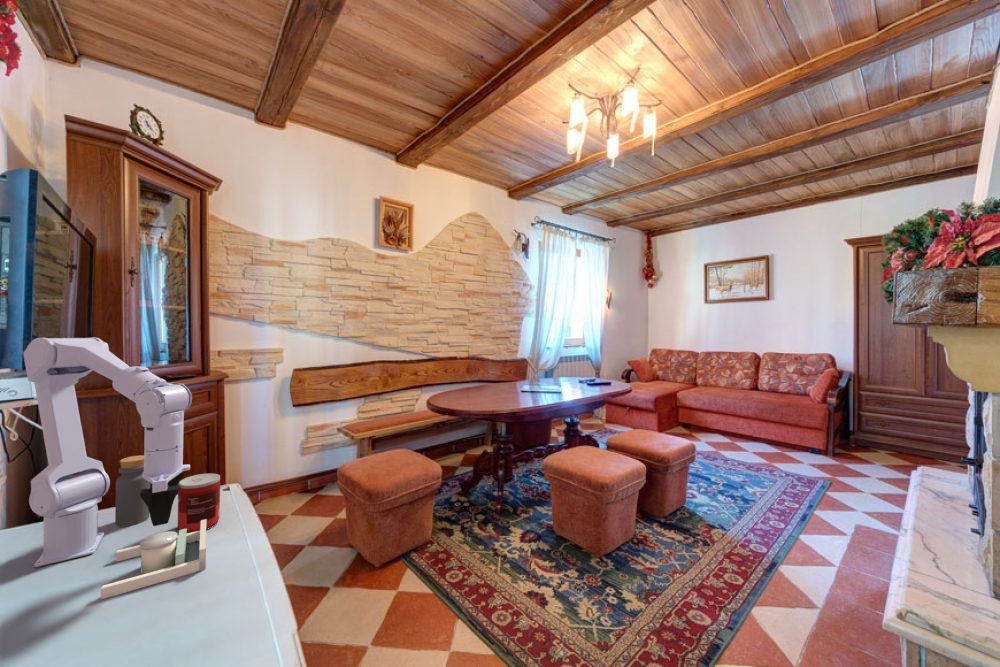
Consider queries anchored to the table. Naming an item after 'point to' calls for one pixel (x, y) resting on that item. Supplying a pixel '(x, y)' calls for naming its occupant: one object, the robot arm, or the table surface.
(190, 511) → the canned food
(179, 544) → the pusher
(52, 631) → the table surface
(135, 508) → the bottle
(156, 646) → the table surface
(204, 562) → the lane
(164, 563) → the jar
